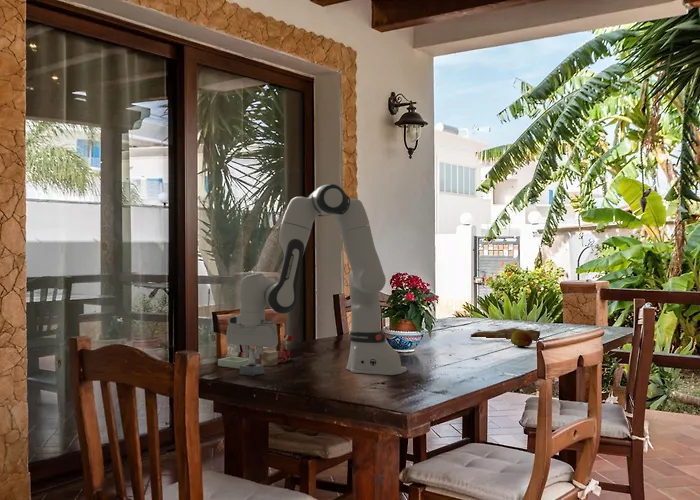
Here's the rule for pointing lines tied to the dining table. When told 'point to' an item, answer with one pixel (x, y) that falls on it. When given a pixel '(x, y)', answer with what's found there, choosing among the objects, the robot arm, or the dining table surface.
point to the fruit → (521, 338)
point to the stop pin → (251, 357)
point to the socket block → (251, 369)
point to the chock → (269, 358)
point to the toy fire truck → (285, 349)
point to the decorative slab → (505, 333)
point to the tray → (232, 362)
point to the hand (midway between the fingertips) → (251, 358)
